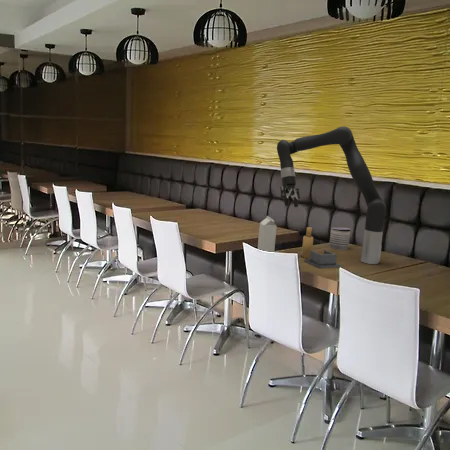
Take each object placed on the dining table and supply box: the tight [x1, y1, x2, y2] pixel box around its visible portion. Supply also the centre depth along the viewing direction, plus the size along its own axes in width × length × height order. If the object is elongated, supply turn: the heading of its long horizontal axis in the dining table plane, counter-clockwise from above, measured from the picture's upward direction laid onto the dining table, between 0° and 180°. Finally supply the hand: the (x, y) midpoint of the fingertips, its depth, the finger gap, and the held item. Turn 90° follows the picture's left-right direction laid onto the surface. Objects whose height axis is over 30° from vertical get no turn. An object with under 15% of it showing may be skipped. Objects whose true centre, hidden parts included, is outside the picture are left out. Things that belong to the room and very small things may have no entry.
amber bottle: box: [300, 226, 314, 259], centre depth 278 cm, size 5×5×16 cm
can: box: [328, 227, 351, 251], centre depth 308 cm, size 11×11×12 cm
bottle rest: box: [303, 249, 342, 269], centre depth 266 cm, size 13×13×6 cm
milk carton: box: [257, 215, 277, 253], centre depth 283 cm, size 7×7×19 cm
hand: (291, 206), depth 281 cm, fingers open, 8 cm apart
